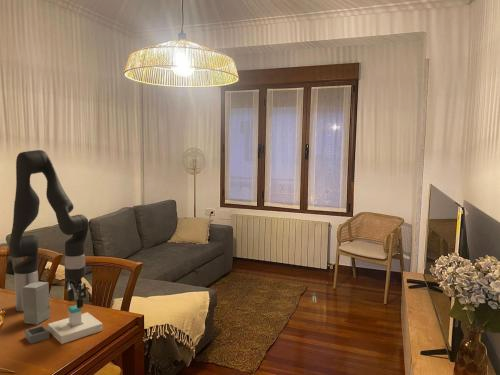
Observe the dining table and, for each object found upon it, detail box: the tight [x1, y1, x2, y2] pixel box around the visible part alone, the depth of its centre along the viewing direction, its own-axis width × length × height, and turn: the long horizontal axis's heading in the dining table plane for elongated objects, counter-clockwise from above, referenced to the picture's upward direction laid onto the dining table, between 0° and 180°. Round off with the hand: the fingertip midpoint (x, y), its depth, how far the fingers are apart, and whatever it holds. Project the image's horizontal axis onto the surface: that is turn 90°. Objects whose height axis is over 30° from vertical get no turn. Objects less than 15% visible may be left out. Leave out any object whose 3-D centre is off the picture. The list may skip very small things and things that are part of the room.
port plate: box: [47, 312, 103, 345], centre depth 158 cm, size 14×16×3 cm
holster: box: [24, 324, 50, 345], centre depth 152 cm, size 7×7×3 cm
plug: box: [67, 304, 82, 328], centre depth 158 cm, size 4×4×10 cm
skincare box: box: [22, 281, 51, 326], centre depth 165 cm, size 8×7×16 cm
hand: (75, 303), depth 157 cm, fingers open, 8 cm apart
